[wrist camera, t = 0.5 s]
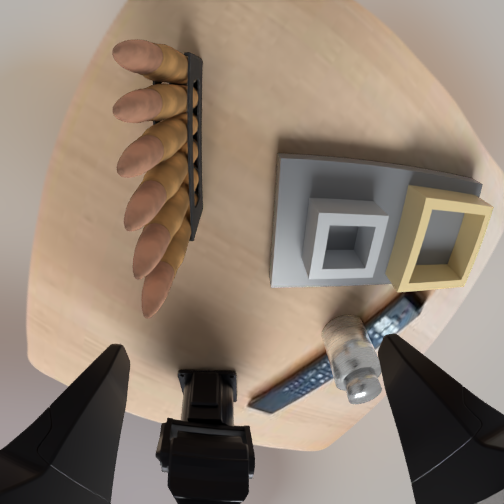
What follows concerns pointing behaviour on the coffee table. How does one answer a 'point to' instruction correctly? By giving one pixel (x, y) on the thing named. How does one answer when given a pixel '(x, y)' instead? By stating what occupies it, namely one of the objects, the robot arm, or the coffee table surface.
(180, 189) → the ammunition clip
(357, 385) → the steel fitting
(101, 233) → the coffee table surface
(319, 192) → the board
